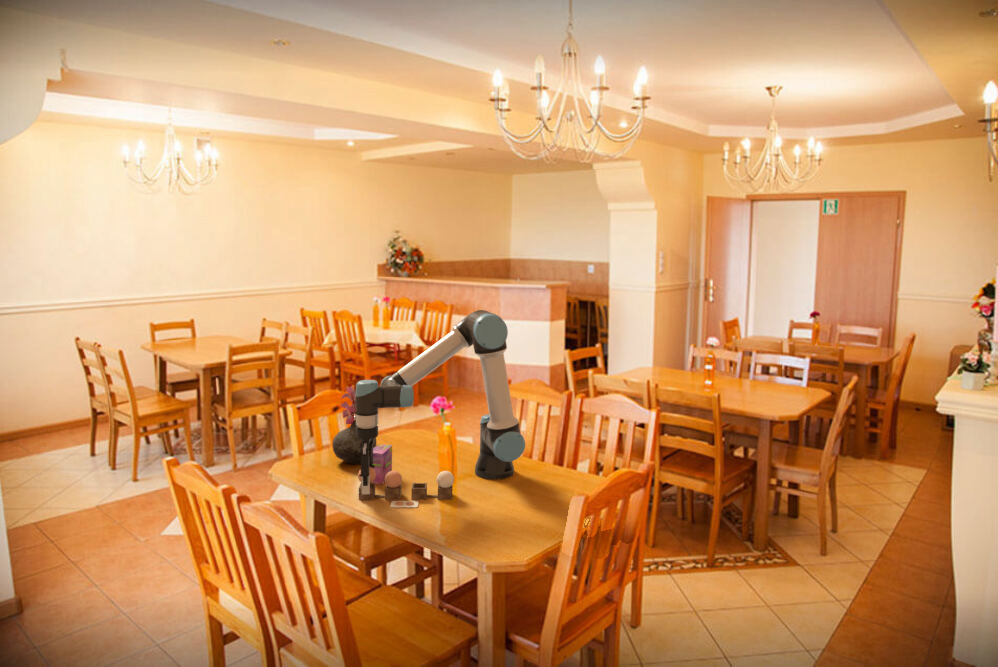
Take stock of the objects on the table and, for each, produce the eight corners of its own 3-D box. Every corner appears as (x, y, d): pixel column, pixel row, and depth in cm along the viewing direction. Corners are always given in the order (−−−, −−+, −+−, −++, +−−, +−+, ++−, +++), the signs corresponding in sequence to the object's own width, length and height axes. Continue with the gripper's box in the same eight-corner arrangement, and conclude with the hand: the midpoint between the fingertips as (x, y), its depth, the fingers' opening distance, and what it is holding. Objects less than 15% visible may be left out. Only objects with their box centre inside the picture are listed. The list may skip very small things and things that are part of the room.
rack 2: (452, 494, 232) (452, 483, 231) (452, 499, 227) (452, 488, 226) (412, 494, 231) (412, 483, 230) (411, 499, 226) (411, 488, 225)
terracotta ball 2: (402, 484, 231) (402, 468, 230) (401, 491, 225) (401, 474, 224) (385, 484, 230) (385, 468, 229) (383, 491, 224) (383, 474, 223)
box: (382, 484, 239) (382, 453, 237) (367, 483, 240) (367, 452, 238) (392, 475, 249) (392, 445, 247) (378, 473, 250) (378, 443, 248)
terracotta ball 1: (376, 480, 230) (376, 464, 229) (374, 486, 224) (374, 469, 223) (359, 480, 229) (359, 463, 229) (356, 486, 224) (356, 469, 223)
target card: (418, 501, 224) (418, 500, 224) (417, 507, 219) (417, 506, 219) (391, 501, 223) (391, 500, 223) (390, 507, 219) (390, 506, 218)
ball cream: (453, 484, 232) (454, 468, 231) (453, 491, 226) (454, 474, 225) (436, 484, 231) (437, 468, 230) (436, 491, 225) (436, 474, 225)
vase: (356, 452, 274) (356, 381, 270) (386, 461, 264) (386, 388, 260) (324, 462, 261) (323, 388, 256) (354, 472, 251) (354, 395, 246)
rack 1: (401, 493, 231) (401, 483, 230) (399, 499, 226) (399, 488, 225) (360, 493, 230) (360, 482, 229) (358, 499, 225) (358, 488, 224)
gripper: (360, 417, 233) (360, 480, 236) (351, 433, 214) (351, 501, 217) (381, 418, 233) (381, 480, 237) (374, 433, 215) (374, 501, 218)
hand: (367, 490), depth 227 cm, fingers closed on terracotta ball 1, 6 cm apart
